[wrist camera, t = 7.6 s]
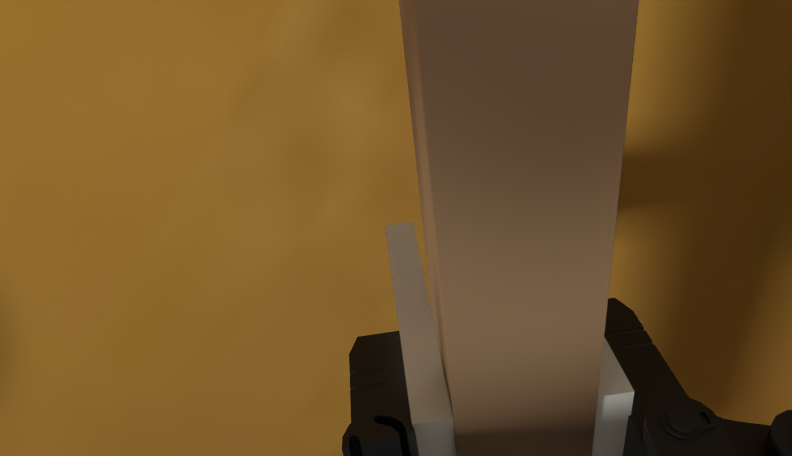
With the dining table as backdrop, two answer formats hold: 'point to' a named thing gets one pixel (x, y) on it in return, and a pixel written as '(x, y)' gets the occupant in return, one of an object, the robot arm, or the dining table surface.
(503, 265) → the walnut stick
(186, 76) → the dining table surface
